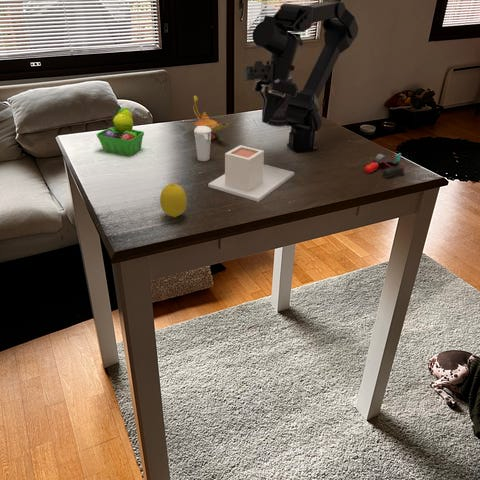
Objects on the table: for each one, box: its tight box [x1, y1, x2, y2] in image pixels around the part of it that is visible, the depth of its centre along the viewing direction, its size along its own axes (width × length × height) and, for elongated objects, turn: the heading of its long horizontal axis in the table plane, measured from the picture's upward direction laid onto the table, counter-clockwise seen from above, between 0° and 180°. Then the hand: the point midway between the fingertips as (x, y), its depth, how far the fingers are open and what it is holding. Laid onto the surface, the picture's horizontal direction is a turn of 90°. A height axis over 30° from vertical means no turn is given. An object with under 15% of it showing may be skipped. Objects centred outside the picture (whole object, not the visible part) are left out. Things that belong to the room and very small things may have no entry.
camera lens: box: [267, 74, 294, 127], centre depth 153 cm, size 8×8×15 cm
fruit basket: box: [95, 107, 145, 157], centre depth 132 cm, size 11×9×11 cm
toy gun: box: [364, 152, 406, 180], centre depth 125 cm, size 10×12×5 cm
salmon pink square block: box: [234, 149, 256, 158], centre depth 112 cm, size 4×4×3 cm
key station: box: [207, 144, 295, 203], centre depth 116 cm, size 18×14×9 cm
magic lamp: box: [193, 95, 228, 140], centre depth 141 cm, size 7×18×11 cm, turn 36°
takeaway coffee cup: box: [193, 125, 214, 162], centre depth 127 cm, size 5×5×10 cm
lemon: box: [159, 182, 188, 219], centre depth 100 cm, size 6×6×8 cm
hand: (264, 122), depth 119 cm, fingers closed
